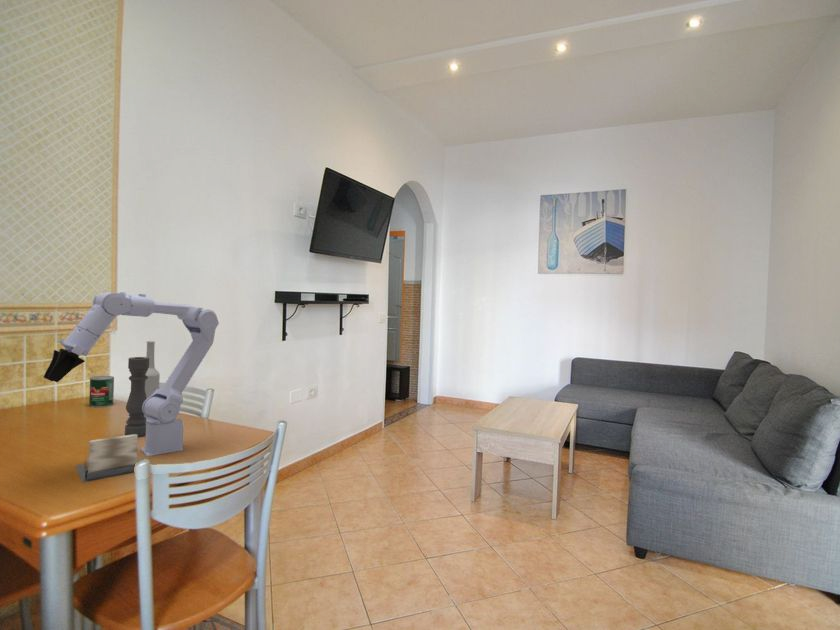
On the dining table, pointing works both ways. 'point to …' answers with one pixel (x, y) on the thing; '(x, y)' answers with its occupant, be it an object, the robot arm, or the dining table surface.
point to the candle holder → (137, 396)
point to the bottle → (151, 372)
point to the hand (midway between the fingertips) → (50, 380)
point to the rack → (103, 472)
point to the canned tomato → (101, 391)
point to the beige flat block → (112, 452)
